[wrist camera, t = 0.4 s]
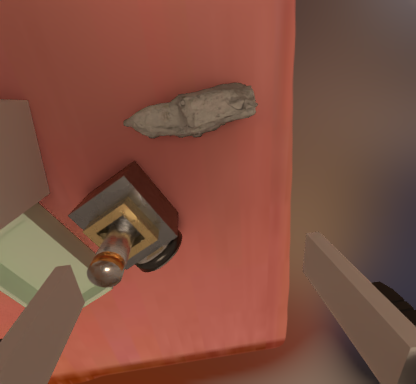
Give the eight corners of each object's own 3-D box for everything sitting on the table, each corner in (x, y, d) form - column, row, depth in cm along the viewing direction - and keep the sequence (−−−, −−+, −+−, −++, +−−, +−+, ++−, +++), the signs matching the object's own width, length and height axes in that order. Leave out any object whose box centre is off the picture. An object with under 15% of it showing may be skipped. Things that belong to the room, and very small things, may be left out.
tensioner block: (88, 193, 40) (59, 224, 30) (134, 160, 39) (119, 182, 29) (145, 251, 46) (136, 293, 36) (187, 224, 44) (189, 259, 35)
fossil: (140, 141, 38) (116, 167, 24) (129, 97, 35) (96, 98, 21) (245, 126, 39) (281, 142, 25) (242, 82, 36) (281, 73, 22)
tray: (-24, 246, 42) (-43, 261, 38) (37, 201, 40) (22, 212, 36) (63, 309, 49) (53, 326, 45) (117, 273, 47) (112, 288, 43)
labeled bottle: (107, 224, 34) (79, 272, 25) (126, 211, 33) (105, 254, 24) (124, 241, 35) (103, 292, 26) (143, 228, 35) (129, 276, 25)
